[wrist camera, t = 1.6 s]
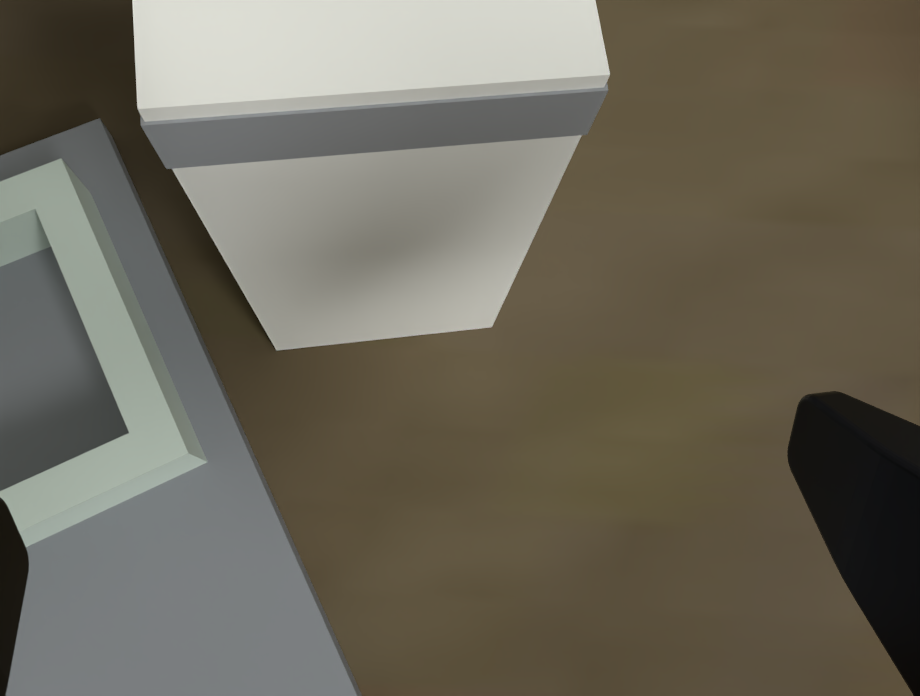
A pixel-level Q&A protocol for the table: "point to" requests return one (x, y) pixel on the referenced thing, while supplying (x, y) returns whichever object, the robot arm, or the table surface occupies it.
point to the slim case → (369, 148)
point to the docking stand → (133, 461)
